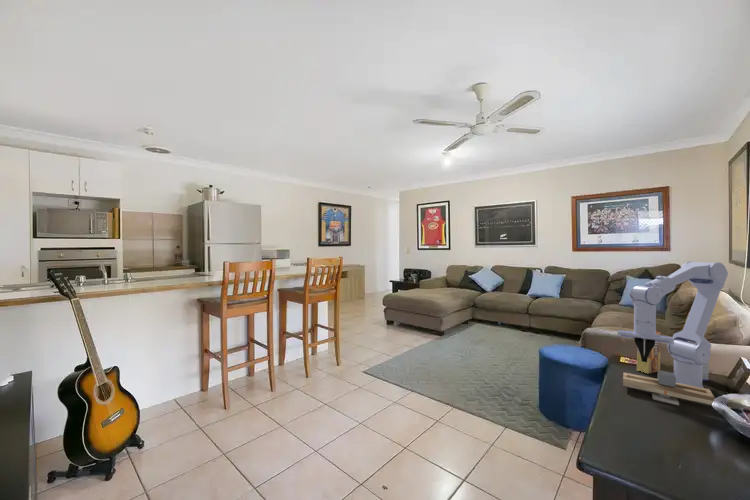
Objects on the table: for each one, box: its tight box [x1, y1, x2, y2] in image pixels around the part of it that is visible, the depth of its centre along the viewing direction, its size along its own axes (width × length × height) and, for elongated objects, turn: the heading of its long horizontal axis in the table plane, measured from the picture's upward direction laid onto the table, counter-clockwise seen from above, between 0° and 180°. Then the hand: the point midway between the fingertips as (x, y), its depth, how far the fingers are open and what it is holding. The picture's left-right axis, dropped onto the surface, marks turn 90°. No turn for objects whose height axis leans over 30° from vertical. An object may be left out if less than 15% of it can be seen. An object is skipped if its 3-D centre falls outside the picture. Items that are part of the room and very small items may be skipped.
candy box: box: [636, 331, 662, 375], centre depth 125 cm, size 9×4×15 cm, turn 116°
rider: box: [656, 369, 676, 387], centre depth 102 cm, size 5×4×4 cm
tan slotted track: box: [622, 371, 715, 406], centre depth 102 cm, size 9×21×4 cm, turn 51°
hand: (644, 361), depth 109 cm, fingers closed
